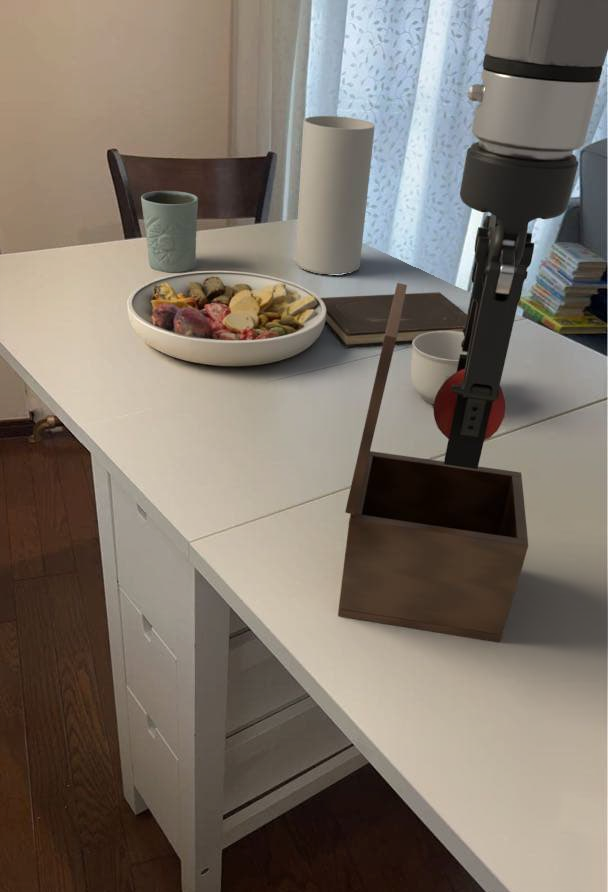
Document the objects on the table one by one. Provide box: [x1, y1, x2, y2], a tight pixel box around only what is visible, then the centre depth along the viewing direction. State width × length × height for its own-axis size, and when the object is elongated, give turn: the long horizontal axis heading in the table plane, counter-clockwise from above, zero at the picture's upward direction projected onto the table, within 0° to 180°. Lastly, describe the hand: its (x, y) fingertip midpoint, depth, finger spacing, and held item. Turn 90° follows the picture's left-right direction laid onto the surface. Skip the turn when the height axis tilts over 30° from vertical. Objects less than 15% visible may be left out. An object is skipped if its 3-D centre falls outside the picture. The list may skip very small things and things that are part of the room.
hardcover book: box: [320, 291, 467, 349], centre depth 131 cm, size 16×23×2 cm
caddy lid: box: [344, 282, 408, 515], centre depth 66 cm, size 16×12×1 cm
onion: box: [432, 369, 507, 441], centre depth 66 cm, size 6×6×8 cm
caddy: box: [337, 450, 529, 643], centre depth 74 cm, size 15×12×11 cm
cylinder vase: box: [295, 115, 376, 275], centre depth 147 cm, size 12×12×25 cm
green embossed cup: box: [140, 190, 199, 273], centre depth 146 cm, size 10×10×12 cm
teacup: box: [410, 331, 467, 405], centre depth 110 cm, size 14×11×8 cm
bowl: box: [126, 270, 326, 367], centre depth 122 cm, size 30×30×8 cm
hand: (461, 444), depth 68 cm, fingers closed on onion, 6 cm apart
